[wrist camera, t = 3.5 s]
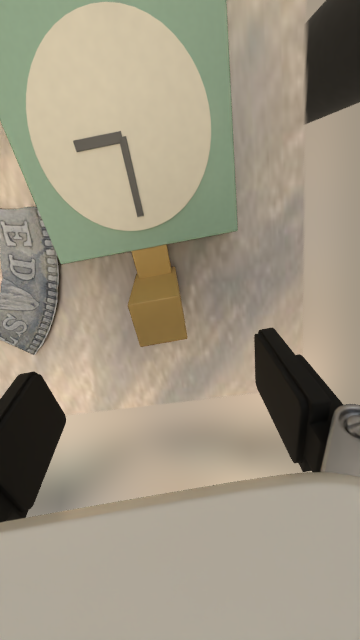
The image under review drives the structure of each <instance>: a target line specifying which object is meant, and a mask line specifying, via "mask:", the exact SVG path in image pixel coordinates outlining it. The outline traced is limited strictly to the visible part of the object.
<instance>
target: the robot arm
mask: <svg viewBox="0 0 360 640" xmlns="http://www.w3.org/2000/svg"><path fill="white" fill-rule="evenodd" d="M254 338H255V379H256V386H257V389H258V391H259V393H260V395H261V397H262V399H263V401H264V403H265V405H266V407H267V409H268V411H269V414H270V416H271V418H272V419H273V422H274V424H275V426H276V428H277V430H278V432H279V434H280V436H281V438H282V441H283V443H284V445H285V447H286V449H287V451H288V453H289V455H290V457H291V459H292V461H293V462H294V463H299V465H300V467H301V469H302V471H303V472H306V471H312V472H309V473H308V472H307V473H295V474H286V475H277V476H270V477H264V478H257V479H250V480H243V481H237V482H230V483H224V484H219V485H213V486H207V487H201V488H195V489H189V490H183V491H177V492H171V493H165V494H159V495H154V496H147V497H141V498H136V499H130V500H125V501H118V502H113V503H107V504H101V505H96V506H90V507H84V508H78V509H73V510H67V511H61V512H56V513H50V514H45V515H39V516H33V517H28V518H25V517H26V515H27V512H28V510H29V509H30V508H31V507H32V506H33V504H34V502H35V499H36V497H37V494H38V492H39V489H40V487H41V484H42V481H43V479H44V477H45V474H46V472H47V469H48V467H49V464H50V461H51V459H52V456H53V454H54V451H55V449H56V446H57V444H58V441H59V439H60V436H61V434H62V431H63V428H64V426H65V423H66V417H65V414H64V412H63V411H62V409H61V407H60V406H59V404H58V402H57V401H56V399H55V397H54V396H53V394H52V392H51V391H50V389H49V387H48V386H47V384H46V382H45V381H44V379H43V377H42V376H41V375H40V374H37V373H36V372H29V373H24V374H20V375H18V376H17V377H16V379H15V380H14V382H13V383H12V384H11V386H10V387H9V388H8V390H7V391H6V392H5V394H4V395H3V396H2V398H1V399H0V640H360V405H356V404H346V405H343V404H342V403H341V401H340V400H339V399H338V398H337V397H336V395H335V394H334V393H333V392H332V391H331V389H330V388H329V387H328V386H327V385H326V383H325V382H324V381H323V380H322V379H321V378H320V376H319V375H318V374H317V373H316V372H315V370H314V369H313V368H312V367H311V365H310V364H309V363H308V362H307V361H306V360H305V358H304V357H303V356H302V355H295V354H294V353H293V352H292V350H291V349H290V348H289V347H288V345H287V344H286V343H285V342H284V340H283V339H282V338H281V337H280V335H279V334H278V333H277V332H276V330H275V329H274V328H268V329H262V330H259V332H258V334H255V337H254Z"/></svg>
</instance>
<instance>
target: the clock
mask: <svg viewBox="0 0 360 640" xmlns="http://www.w3.org/2000/svg"><path fill="white" fill-rule="evenodd" d="M0 121H1V123H2V126H3V128H4V130H5V133H6V135H7V138H8V140H9V142H10V145H11V147H12V149H13V152H14V154H15V156H16V159H17V161H18V164H19V166H20V168H21V171H22V173H23V175H24V178H25V180H26V183H27V185H28V187H29V190H30V192H31V194H32V197H33V199H34V201H35V204H36V206H37V209H38V211H39V213H40V216H41V218H42V220H43V223H44V225H45V227H46V230H47V232H48V235H49V237H50V239H51V242H52V244H53V246H54V249H55V251H56V253H57V256H58V258H59V261H60V263H61V264H66V263H71V262H77V261H82V260H87V259H92V258H98V257H103V256H108V255H114V254H119V253H124V252H129V251H131V252H132V256H133V259H134V263H135V267H136V270H137V274H136V277H135V281H134V285H133V288H132V292H131V295H130V299H129V302H128V308H129V311H130V315H131V318H132V321H133V324H134V327H135V331H136V334H137V337H138V340H139V344H140V346H141V347H144V346H149V345H155V344H160V343H166V342H172V341H177V340H183V339H187V332H186V325H185V319H184V313H183V307H182V301H181V296H180V290H179V285H178V280H177V274H176V269H175V267H171V264H170V259H169V254H168V249H167V244H171V243H177V242H182V241H187V240H193V239H198V238H203V237H208V236H214V235H219V234H224V233H229V232H235V231H237V230H238V226H237V206H236V186H235V166H234V146H233V126H232V106H231V86H230V66H229V46H228V26H227V6H226V0H0Z"/></svg>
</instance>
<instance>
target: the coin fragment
mask: <svg viewBox="0 0 360 640" xmlns="http://www.w3.org/2000/svg"><path fill="white" fill-rule="evenodd" d="M0 261H1V269H2V276H3V279H2V283H1V292H0V340H1V341H4V342H6V343H8V344H11V345H13V346H16V347H18V348H20V349H22V350H24V351H26V352H28V353H31V354H33V355H34V354H36V353H37V351H38V349H39V348H40V347H41V346H42V345H43V343H44V340H45V338H46V336H47V335H48V332H49V330H50V327H51V324H52V321H53V318H54V314H55V312H56V305H57V295H58V289H57V288H58V284H59V277H58V276H59V272H58V261H57V253H56V251H55V249H54V246H53V244H52V242H51V239H50V237H49V235H48V232H47V230H46V227H45V225H44V223H43V220H42V218H41V216H40V213H39V211H38V209H37V207H27V208H21V209H11V210H10V209H9V210H7V209H0Z"/></svg>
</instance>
